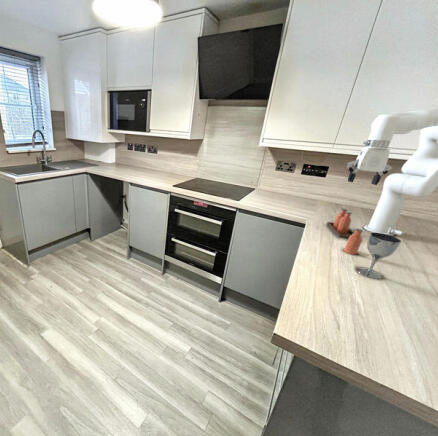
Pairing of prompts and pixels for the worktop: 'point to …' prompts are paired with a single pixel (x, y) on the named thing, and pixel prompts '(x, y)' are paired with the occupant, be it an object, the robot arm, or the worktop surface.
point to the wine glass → (379, 251)
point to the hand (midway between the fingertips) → (361, 183)
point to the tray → (340, 235)
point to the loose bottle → (354, 242)
